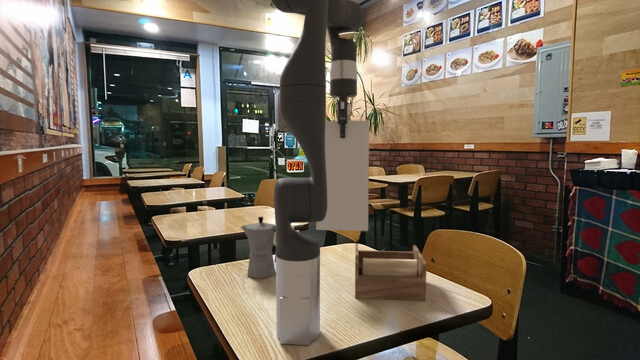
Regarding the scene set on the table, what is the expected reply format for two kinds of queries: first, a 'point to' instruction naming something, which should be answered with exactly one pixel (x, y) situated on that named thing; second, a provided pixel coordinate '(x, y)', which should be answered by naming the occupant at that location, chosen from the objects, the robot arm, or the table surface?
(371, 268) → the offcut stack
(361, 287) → the rack
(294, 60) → the robot arm
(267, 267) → the coffeepot
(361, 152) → the brochure
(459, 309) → the table surface
